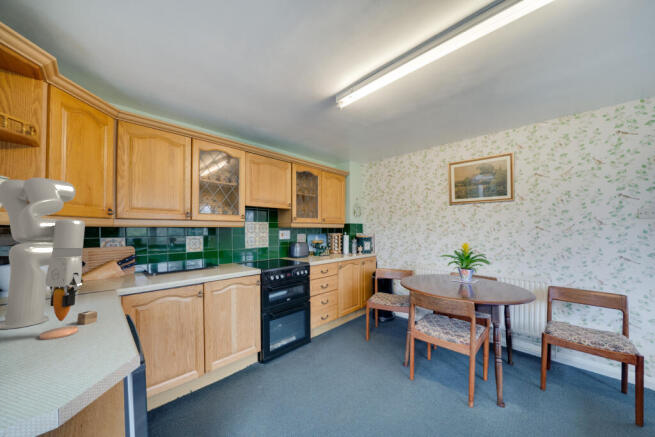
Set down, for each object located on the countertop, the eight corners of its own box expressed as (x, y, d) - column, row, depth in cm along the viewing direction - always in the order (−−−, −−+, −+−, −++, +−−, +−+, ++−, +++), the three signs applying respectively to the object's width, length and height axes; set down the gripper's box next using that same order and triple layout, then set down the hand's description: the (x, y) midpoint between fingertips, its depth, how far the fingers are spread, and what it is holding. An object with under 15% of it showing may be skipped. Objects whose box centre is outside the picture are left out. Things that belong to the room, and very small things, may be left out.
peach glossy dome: (32, 338, 81) (32, 334, 81) (66, 328, 90) (67, 325, 90) (51, 340, 79) (51, 337, 79) (84, 330, 88) (84, 327, 88)
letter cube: (77, 324, 95) (78, 312, 95) (89, 320, 99) (90, 309, 99) (84, 325, 94) (85, 313, 94) (96, 321, 98) (97, 310, 98)
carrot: (57, 324, 82) (61, 278, 83) (46, 323, 83) (50, 278, 84) (75, 319, 87) (78, 276, 88) (64, 318, 88) (68, 276, 89)
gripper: (36, 253, 85) (31, 307, 84) (71, 254, 81) (66, 310, 80) (64, 252, 93) (59, 301, 91) (97, 253, 89) (92, 304, 87)
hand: (62, 305), depth 85 cm, fingers closed on carrot, 5 cm apart
